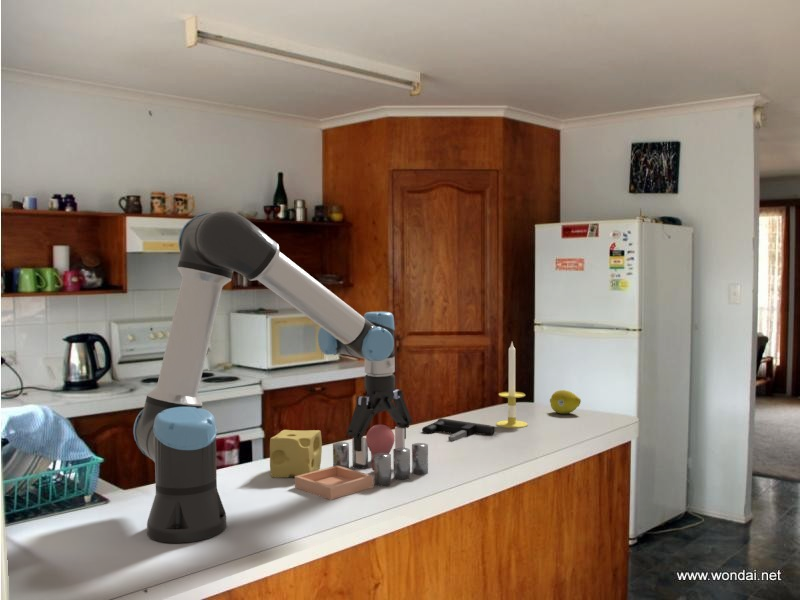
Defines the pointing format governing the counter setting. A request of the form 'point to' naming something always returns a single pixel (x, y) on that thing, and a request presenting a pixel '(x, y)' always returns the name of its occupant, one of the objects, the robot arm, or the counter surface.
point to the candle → (511, 396)
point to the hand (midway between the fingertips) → (380, 458)
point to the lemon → (564, 402)
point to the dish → (333, 482)
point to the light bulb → (379, 440)
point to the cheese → (295, 453)
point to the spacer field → (386, 462)
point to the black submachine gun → (458, 428)
